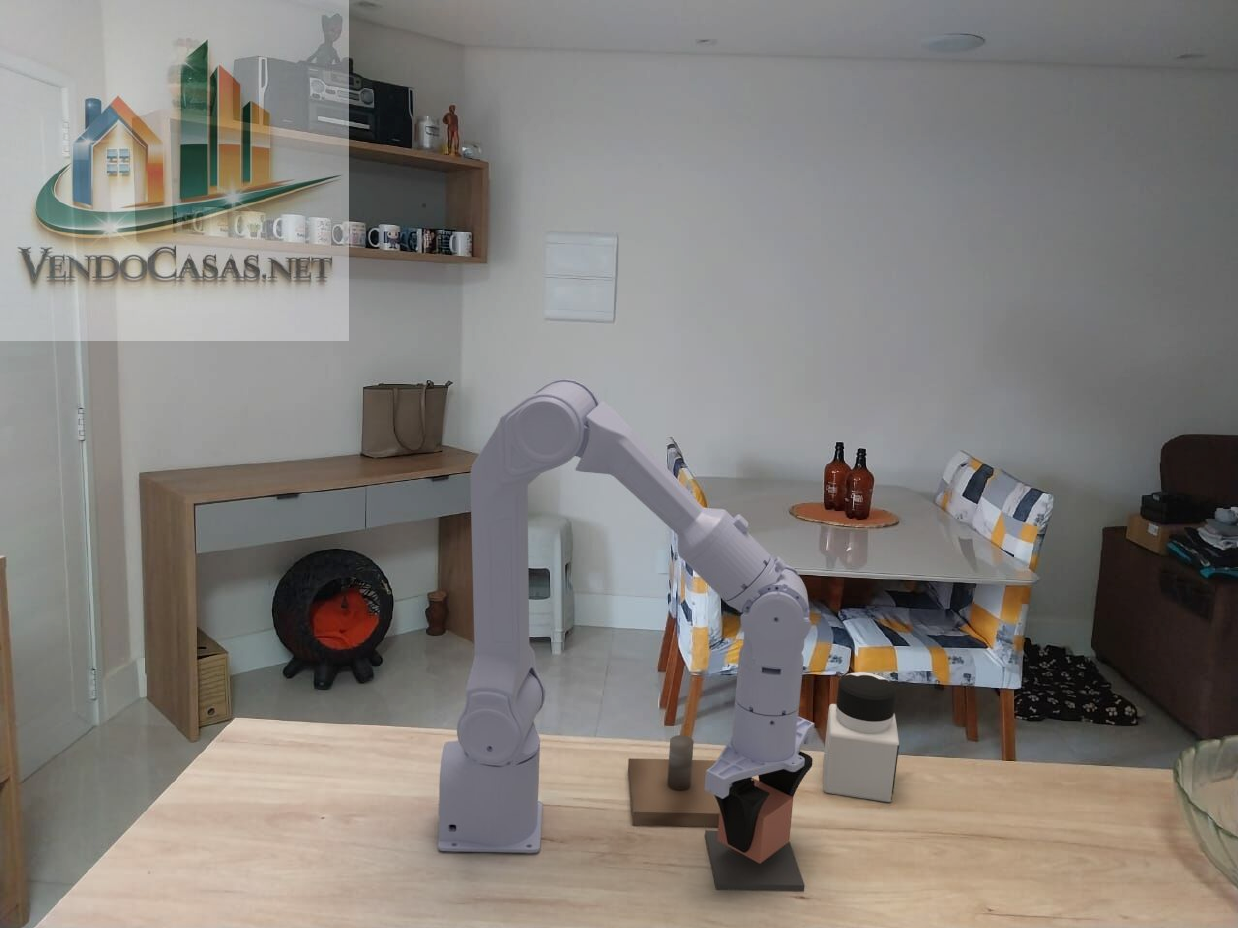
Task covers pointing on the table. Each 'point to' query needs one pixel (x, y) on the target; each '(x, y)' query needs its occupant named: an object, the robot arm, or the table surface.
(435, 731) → the table surface
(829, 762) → the medicine bottle
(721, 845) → the mat
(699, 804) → the post block
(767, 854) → the terracotta cube
